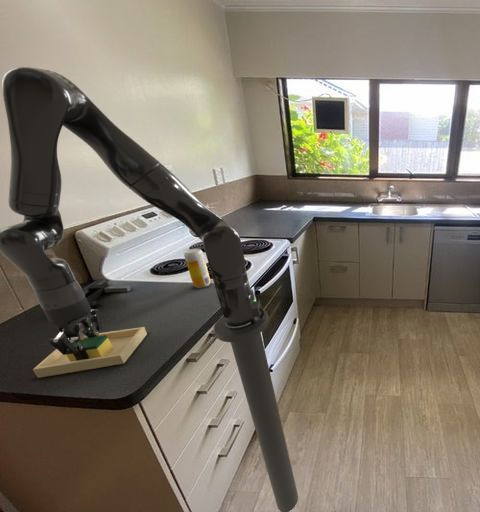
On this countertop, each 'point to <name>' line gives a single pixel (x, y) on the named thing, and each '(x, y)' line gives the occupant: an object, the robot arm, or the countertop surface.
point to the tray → (121, 351)
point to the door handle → (101, 291)
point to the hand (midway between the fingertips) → (91, 353)
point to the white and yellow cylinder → (197, 267)
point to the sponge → (94, 347)
